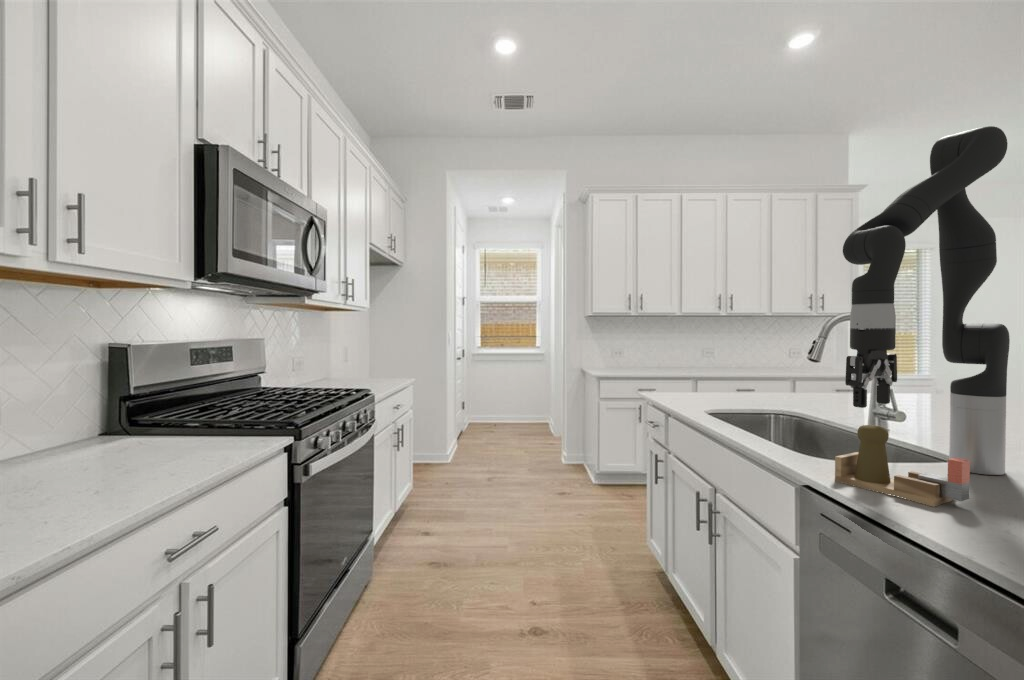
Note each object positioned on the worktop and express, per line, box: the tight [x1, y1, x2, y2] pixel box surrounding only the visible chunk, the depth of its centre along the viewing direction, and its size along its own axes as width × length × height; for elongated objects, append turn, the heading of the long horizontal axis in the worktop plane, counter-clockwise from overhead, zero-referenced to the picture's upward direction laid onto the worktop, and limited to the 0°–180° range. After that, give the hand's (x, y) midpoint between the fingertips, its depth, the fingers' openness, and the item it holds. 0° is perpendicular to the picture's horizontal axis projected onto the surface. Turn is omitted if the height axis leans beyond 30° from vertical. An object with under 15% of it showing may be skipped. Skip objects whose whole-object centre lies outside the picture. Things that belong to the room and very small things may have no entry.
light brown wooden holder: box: [834, 451, 954, 507], centre depth 97 cm, size 8×17×5 cm, turn 27°
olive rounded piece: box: [854, 424, 891, 484], centre depth 100 cm, size 6×6×11 cm
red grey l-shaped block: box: [918, 458, 971, 502], centre depth 90 cm, size 3×6×7 cm, turn 27°
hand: (871, 405), depth 100 cm, fingers open, 8 cm apart
